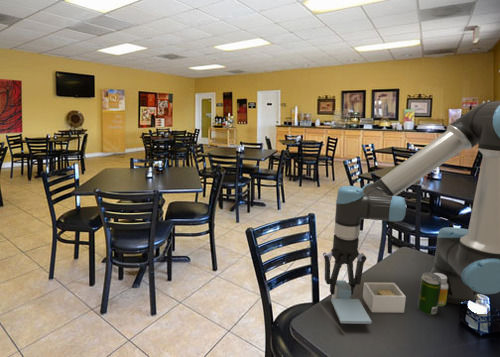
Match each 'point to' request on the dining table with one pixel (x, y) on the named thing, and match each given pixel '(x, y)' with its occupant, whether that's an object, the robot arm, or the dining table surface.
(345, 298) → the lid
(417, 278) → the dining table surface
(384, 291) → the brass part
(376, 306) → the tub
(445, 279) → the supplement bottle
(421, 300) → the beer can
